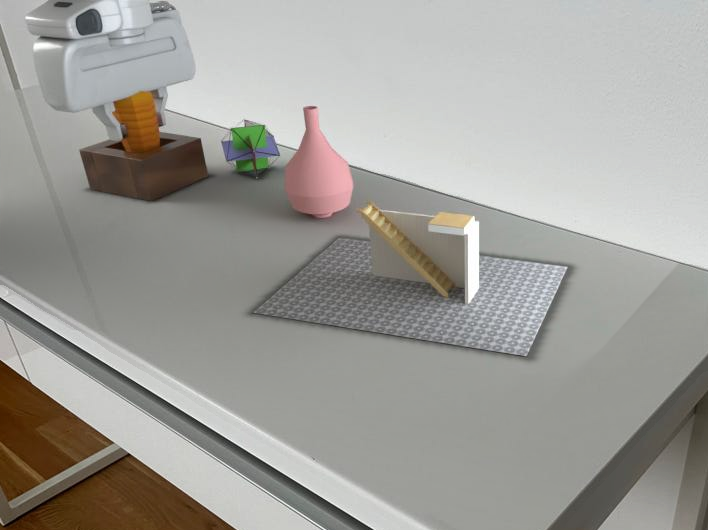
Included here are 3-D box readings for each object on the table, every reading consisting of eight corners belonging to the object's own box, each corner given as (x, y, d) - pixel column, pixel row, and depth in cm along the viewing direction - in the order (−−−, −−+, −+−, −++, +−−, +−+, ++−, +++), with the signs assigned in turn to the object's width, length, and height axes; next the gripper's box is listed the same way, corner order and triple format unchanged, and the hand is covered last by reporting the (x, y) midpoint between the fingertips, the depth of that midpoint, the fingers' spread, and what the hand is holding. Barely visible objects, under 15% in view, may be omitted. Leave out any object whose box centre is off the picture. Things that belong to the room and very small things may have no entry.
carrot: (121, 185, 94) (87, 58, 86) (147, 173, 98) (118, 50, 90) (154, 189, 93) (123, 61, 85) (179, 177, 97) (152, 53, 89)
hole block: (90, 189, 93) (78, 149, 91) (150, 166, 101) (141, 128, 98) (151, 201, 90) (141, 160, 87) (208, 176, 98) (201, 137, 95)
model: (468, 303, 68) (468, 224, 64) (360, 288, 71) (353, 210, 67) (478, 288, 71) (478, 211, 67) (374, 274, 73) (368, 198, 69)
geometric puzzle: (285, 165, 95) (272, 104, 95) (229, 171, 92) (215, 109, 93) (282, 184, 101) (269, 127, 102) (229, 190, 99) (217, 132, 100)
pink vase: (358, 224, 84) (348, 115, 78) (289, 229, 83) (273, 119, 76) (353, 200, 90) (343, 97, 84) (288, 204, 89) (274, 100, 83)
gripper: (155, -3, 94) (179, 110, 101) (10, 19, 78) (50, 152, 85) (195, 0, 91) (216, 115, 99) (53, 24, 76) (91, 159, 83)
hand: (138, 132), depth 92 cm, fingers closed on carrot, 5 cm apart
